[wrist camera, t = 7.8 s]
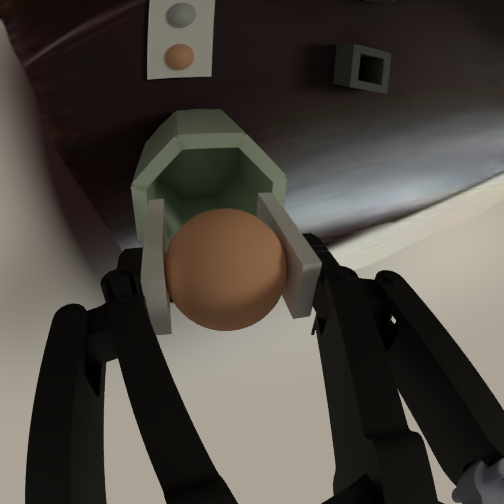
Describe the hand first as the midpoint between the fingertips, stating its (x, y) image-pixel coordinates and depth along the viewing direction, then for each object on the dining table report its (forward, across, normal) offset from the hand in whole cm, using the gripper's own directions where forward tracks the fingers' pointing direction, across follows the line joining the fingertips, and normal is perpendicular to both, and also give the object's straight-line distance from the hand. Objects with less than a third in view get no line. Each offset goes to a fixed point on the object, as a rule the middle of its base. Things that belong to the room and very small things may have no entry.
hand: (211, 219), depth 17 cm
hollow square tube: (+11, +14, +9) cm, 20 cm away
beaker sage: (+11, 0, 0) cm, 11 cm away
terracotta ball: (-2, 0, 0) cm, 2 cm away
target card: (+11, -1, +11) cm, 15 cm away
